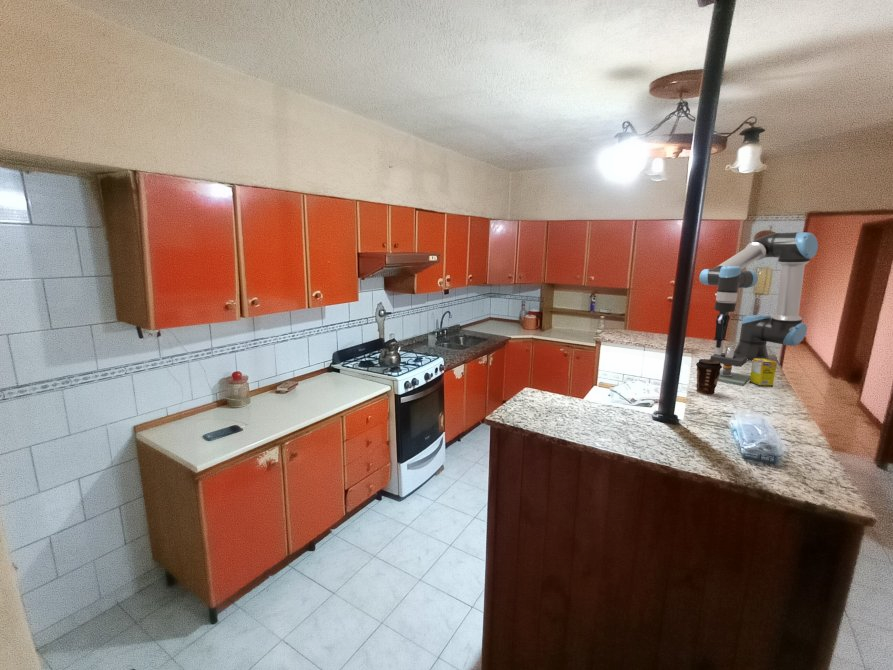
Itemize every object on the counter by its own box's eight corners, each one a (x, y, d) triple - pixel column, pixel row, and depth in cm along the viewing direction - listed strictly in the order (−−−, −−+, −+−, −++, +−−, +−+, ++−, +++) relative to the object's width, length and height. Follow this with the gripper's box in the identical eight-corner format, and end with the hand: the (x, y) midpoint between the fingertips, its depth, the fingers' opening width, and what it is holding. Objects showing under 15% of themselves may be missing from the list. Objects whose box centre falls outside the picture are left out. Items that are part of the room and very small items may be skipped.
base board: (710, 370, 198) (710, 368, 198) (751, 378, 187) (751, 375, 187) (700, 377, 187) (700, 375, 187) (743, 386, 176) (743, 383, 176)
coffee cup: (711, 389, 171) (716, 358, 169) (722, 396, 163) (727, 364, 161) (689, 388, 172) (693, 357, 170) (699, 395, 164) (703, 363, 161)
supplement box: (773, 387, 175) (777, 362, 173) (758, 387, 175) (762, 361, 173) (762, 382, 181) (767, 358, 179) (748, 382, 181) (752, 358, 179)
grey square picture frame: (717, 357, 194) (717, 352, 193) (746, 362, 186) (747, 356, 185) (709, 361, 186) (710, 356, 185) (740, 366, 178) (741, 361, 177)
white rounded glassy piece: (721, 373, 190) (725, 345, 187) (733, 375, 187) (737, 347, 184) (719, 375, 187) (723, 347, 184) (730, 377, 184) (735, 349, 181)
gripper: (719, 300, 191) (712, 350, 195) (711, 302, 182) (704, 355, 186) (739, 301, 185) (731, 353, 190) (732, 303, 176) (723, 358, 181)
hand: (717, 354), depth 188 cm, fingers closed
